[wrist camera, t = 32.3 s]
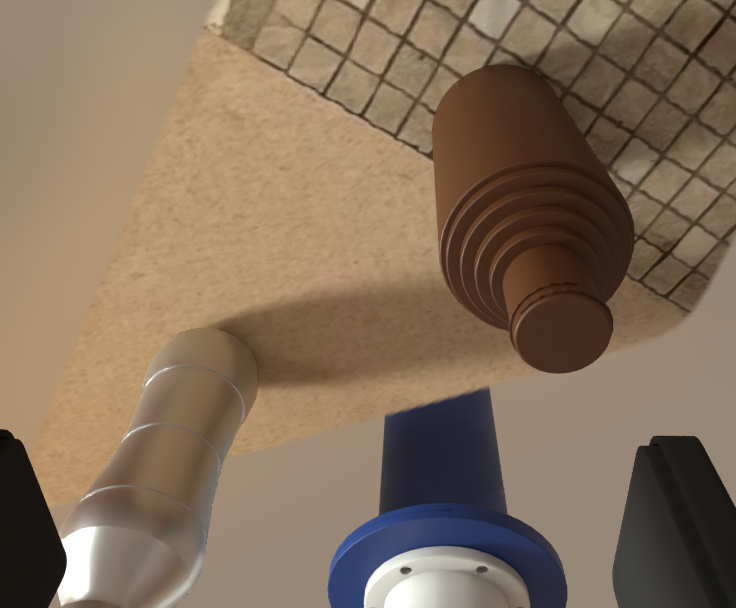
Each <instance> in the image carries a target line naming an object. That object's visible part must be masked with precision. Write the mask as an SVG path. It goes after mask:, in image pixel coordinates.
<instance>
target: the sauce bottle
mask: <svg viewBox="0 0 736 608" xmlns="http://www.w3.org/2000/svg"><path fill="white" fill-rule="evenodd" d="M432 140H433V157H434V174H435V191H436V208H437V225H438V242H439V259H440V266H441V271H442V274H443V277H444V280H445V282H446V284H447V286H448V288H449V290H450V291H451V293H452V294H453V296H454V297H455V298H456V300H457V301H458V302H459V303H460V304H461V305H462V306H463V307H464V308H465V309H467V310H468V311H469V312H471V313H472V314H473V315H475V316H476V317H477V318H479V319H480V320H482V321H484V322H486V323H487V324H489V325H492V326H494V327H497V328H499V329H503V330H507V331H509V336H510V340H511V342H512V344H513V347H514V349H515V350H516V351H517V352H518V354H519V355H520V357H521V358H522V359H523V360H524V361H525V362H526V363H527V364H529V365H530V366H532V367H533V368H535V369H538V370H540V371H543V372H547V373H569V372H573V371H577V370H579V369H582V368H584V367H586V366H588V365H590V364H591V363H593V362H594V361H595V360H597V359H598V358H599V357H600V356H601V355H602V354H603V352H604V351H605V349H606V348H607V346H608V344H609V341H610V338H611V335H612V332H613V317H612V314H611V311H610V309H609V307H608V306H607V305H606V302H607V301H608V300H609V299H610V298H611V297H612V296H613V294H614V293H615V292H616V290H617V289H618V288H619V286H620V284H621V282H622V281H623V279H624V277H625V274H626V272H627V269H628V267H629V264H630V261H631V257H632V254H633V250H634V240H635V233H634V223H633V219H632V214H631V212H630V209H629V207H628V204H627V203H626V201H625V199H624V197H623V196H622V194H621V192H620V191H619V189H618V188H617V186H616V185H615V183H614V182H613V180H612V179H611V177H610V176H609V174H608V173H607V171H606V170H605V168H604V167H603V165H602V164H601V162H600V161H599V159H598V157H597V156H596V154H595V153H594V151H593V150H592V148H591V147H590V145H589V144H588V142H587V141H586V139H585V138H584V136H583V135H582V133H581V132H580V130H579V129H578V127H577V126H576V124H575V123H574V121H573V119H572V118H571V116H570V115H569V113H568V112H567V110H566V109H565V107H564V106H563V104H562V103H561V101H560V100H559V98H558V97H557V95H556V94H555V92H554V91H553V89H552V88H551V87H550V85H549V84H548V83H547V82H546V81H545V80H544V79H543V78H541V77H540V76H538V75H537V74H536V73H534V72H532V71H530V70H528V69H525V68H522V67H519V66H513V65H491V66H487V67H483V68H480V69H478V70H475V71H473V72H471V73H469V74H467V75H465V76H464V77H463V78H461V79H460V80H458V81H457V82H456V83H455V84H454V85H453V86H452V87H451V88H450V89H449V90H448V91H447V93H446V94H445V95H444V97H443V98H442V100H441V102H440V104H439V106H438V108H437V110H436V113H435V116H434V121H433V128H432Z"/></svg>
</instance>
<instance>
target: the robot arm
mask: <svg viewBox="0 0 736 608" xmlns="http://www.w3.org/2000/svg"><path fill="white" fill-rule="evenodd" d="M66 568H67V555H66V552H65V549H64V547H63V544H62V542H61V539H60V536H59V534H58V532H57V529H56V526H55V524H54V521H53V519H52V516H51V514H50V511H49V508H48V506H47V503H46V501H45V498H44V496H43V493H42V491H41V488H40V486H39V483H38V481H37V478H36V475H35V473H34V470H33V468H32V465H31V463H30V460H29V458H28V455H27V453H26V450H25V448H24V445H23V443H22V442H21V441H20V440H19V439H15V438H14V436H13V435H12V433H11V432H9V431H8V430H3V429H0V608H48V607H49V605H50V603H51V601H52V599H53V597H54V595H55V593H56V592H57V590H58V588H59V586H60V584H61V582H62V580H63V578H64V576H65V572H66ZM612 577H613V586H614V592H615V596H616V600H617V603H618V607H619V608H736V508H735V506H734V504H733V502H732V500H731V498H730V497H729V494H728V492H727V490H726V489H725V487H724V485H723V483H722V481H721V479H720V477H719V475H718V473H717V471H716V470H715V468H714V466H713V464H712V462H711V460H710V458H709V456H708V454H707V453H706V451H705V449H704V447H703V445H702V443H701V442H700V440H699V439H698V438H697V437H695V436H653V438H652V439H651V440H650V444H649V446H639V447H638V450H637V452H636V457H635V462H634V467H633V472H632V477H631V482H630V486H629V491H628V496H627V501H626V506H625V511H624V516H623V521H622V526H621V530H620V535H619V540H618V545H617V550H616V555H615V560H614V564H613V576H612ZM364 608H530V600H529V595H528V589H527V586H526V584H525V582H524V580H523V579H522V577H521V576H520V575H519V574H518V573H517V572H516V570H515V569H514V568H512V567H511V566H510V565H508V564H507V563H505V562H504V561H502V560H500V559H498V558H496V557H494V556H492V555H490V554H488V553H485V552H481V551H478V550H475V549H470V548H464V547H458V546H433V547H424V548H419V549H415V550H410V551H408V552H405V553H402V554H399V555H397V556H395V557H393V558H392V559H390V560H388V561H386V562H385V563H383V564H382V565H381V566H380V567H379V568H378V569H376V570H375V572H374V573H373V574H372V576H371V577H370V578H369V580H368V583H367V585H366V588H365V597H364Z"/></svg>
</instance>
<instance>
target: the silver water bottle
mask: <svg viewBox="0 0 736 608" xmlns="http://www.w3.org/2000/svg"><path fill="white" fill-rule="evenodd" d="M257 389H258V368H257V364H256V361H255V359H254V357H253V355H252V353H251V352H250V351H249V350H248V348H247V347H246V346H245V345H244V344H243V343H242V342H241V341H240V340H239V339H237V338H236V337H235V336H233V335H231V334H229V333H227V332H225V331H222V330H218V329H214V328H197V329H189V330H186V331H183V332H180V333H178V334H176V335H175V336H173V337H172V338H170V339H169V340H168V341H167V342H166V343H165V344H164V345H163V346H162V347H161V348H160V350H159V351H158V352H157V353H156V354H155V355H154V357H153V358H152V360H151V362H150V365H149V367H148V370H147V373H146V376H145V379H144V382H143V387H142V392H141V398H140V400H139V403H138V405H137V408H136V410H135V413H134V415H133V418H132V420H131V423H130V425H129V428H128V430H127V432H126V433H125V435H124V436H123V438H122V440H121V441H120V444H119V445H118V447H117V448H116V450H115V451H114V453H113V454H112V456H111V458H110V459H109V461H108V463H107V464H106V466H105V468H104V469H103V470H102V472H101V473H100V474H99V476H98V477H97V478H96V480H95V481H94V482H93V483H92V485H91V486H90V487H89V489H88V490H87V491H86V493H85V494H84V495H83V497H82V498H81V499H80V500H79V502H78V503H77V505H76V506H75V507H74V508H73V510H72V511H71V512H70V514H69V515H68V517H67V519H66V520H65V522H64V523H63V525H62V526H61V528H60V530H59V533H58V534H59V536H60V539H61V542H62V544H63V547H64V549H65V552H66V555H67V568H66V572H65V576H64V578H63V580H62V582H61V584H60V586H59V588H58V590H57V591H58V594H59V599H60V602H61V606H60V607H58V608H175V607H176V606H177V605H179V604H180V603H181V602H182V601H183V600H184V599H185V598H186V596H187V595H188V593H189V592H190V590H191V589H192V587H193V586H194V585H195V583H196V582H197V580H198V578H199V576H200V574H201V570H202V565H203V561H204V557H205V552H206V544H207V538H208V531H209V524H210V517H211V510H212V504H213V500H214V496H215V492H216V488H217V485H218V479H219V476H220V473H221V469H222V465H223V462H224V460H225V457H226V455H227V453H228V451H229V448H230V446H231V444H232V442H233V440H234V437H235V435H236V433H237V431H238V429H239V428H240V427H241V425H242V424H243V422H244V421H245V419H246V417H247V415H248V413H249V411H250V410H251V408H252V406H253V404H254V402H255V400H256V395H257Z"/></svg>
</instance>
